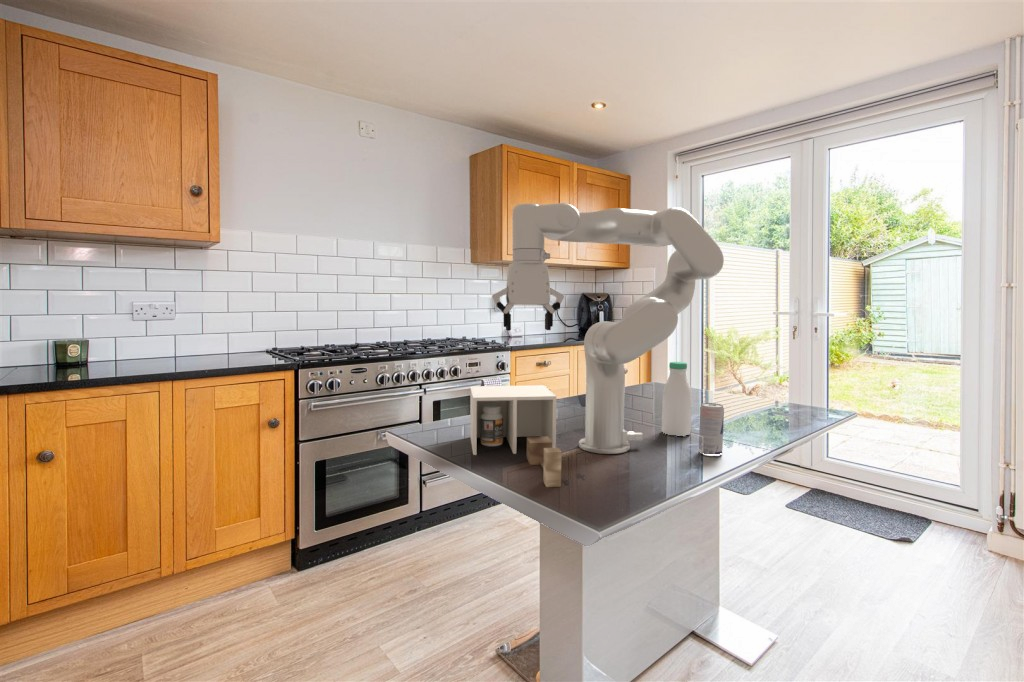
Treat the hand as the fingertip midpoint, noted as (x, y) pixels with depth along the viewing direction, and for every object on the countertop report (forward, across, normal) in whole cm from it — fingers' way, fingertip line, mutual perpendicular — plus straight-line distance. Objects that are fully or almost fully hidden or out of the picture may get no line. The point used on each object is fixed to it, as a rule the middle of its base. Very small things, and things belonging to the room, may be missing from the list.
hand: (528, 330), depth 123 cm
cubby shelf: (+30, +3, -7) cm, 30 cm away
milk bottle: (+30, -44, -11) cm, 54 cm away
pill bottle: (+30, +8, -8) cm, 32 cm away
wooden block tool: (+30, -1, +15) cm, 33 cm away
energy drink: (+30, -43, +8) cm, 53 cm away
